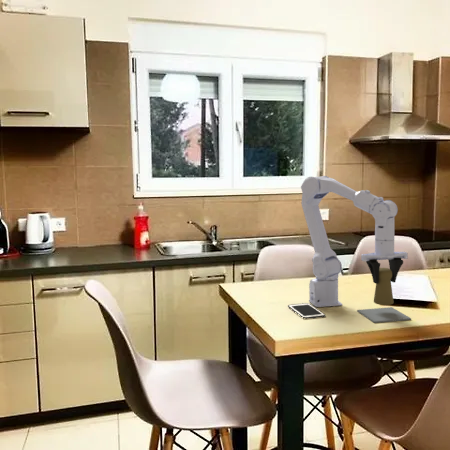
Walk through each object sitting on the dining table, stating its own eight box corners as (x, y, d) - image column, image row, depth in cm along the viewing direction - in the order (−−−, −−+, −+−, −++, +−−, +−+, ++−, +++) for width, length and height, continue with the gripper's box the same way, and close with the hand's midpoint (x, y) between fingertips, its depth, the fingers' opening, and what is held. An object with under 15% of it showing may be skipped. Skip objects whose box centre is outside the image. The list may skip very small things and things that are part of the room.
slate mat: (373, 323, 143) (374, 321, 143) (357, 311, 155) (357, 309, 155) (411, 319, 145) (411, 318, 144) (391, 308, 156) (391, 307, 156)
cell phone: (308, 305, 164) (308, 302, 164) (326, 318, 150) (326, 315, 150) (287, 307, 163) (287, 304, 163) (303, 320, 148) (303, 317, 148)
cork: (377, 297, 155) (377, 265, 153) (396, 300, 152) (396, 267, 150) (370, 303, 151) (370, 269, 149) (389, 306, 147) (390, 272, 145)
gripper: (368, 242, 143) (368, 286, 144) (413, 240, 145) (412, 283, 147) (358, 239, 150) (358, 281, 151) (401, 237, 152) (400, 278, 154)
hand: (384, 282), depth 149 cm, fingers closed on cork, 5 cm apart
